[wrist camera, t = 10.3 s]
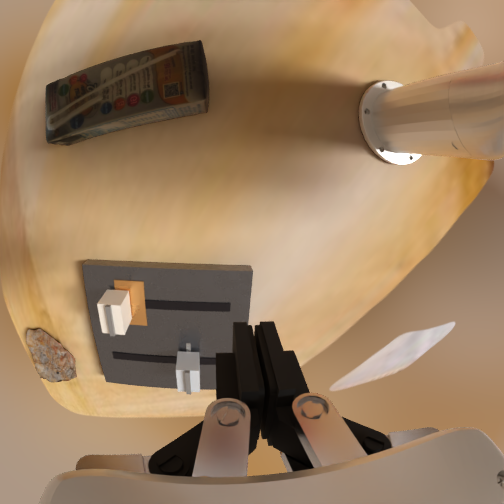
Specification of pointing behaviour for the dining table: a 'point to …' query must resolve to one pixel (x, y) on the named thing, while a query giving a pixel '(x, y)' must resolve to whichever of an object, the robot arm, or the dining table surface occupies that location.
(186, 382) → the white block
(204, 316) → the console
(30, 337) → the rock
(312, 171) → the dining table surface
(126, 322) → the fader cream
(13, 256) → the dining table surface
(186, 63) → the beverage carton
